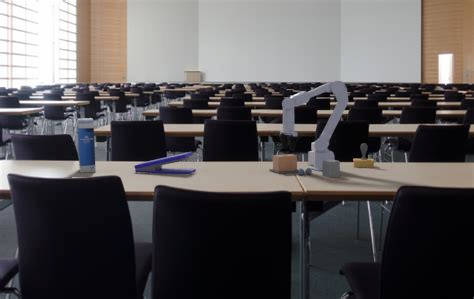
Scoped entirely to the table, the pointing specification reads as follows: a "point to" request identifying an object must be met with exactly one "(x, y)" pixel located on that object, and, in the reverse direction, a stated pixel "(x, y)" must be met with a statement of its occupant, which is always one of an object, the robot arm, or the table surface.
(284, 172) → the charcoal mat
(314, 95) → the robot arm
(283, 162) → the salmon rectangular prism
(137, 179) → the table surface
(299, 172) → the marble
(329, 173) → the grey rectangular block
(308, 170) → the marble
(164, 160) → the stapler
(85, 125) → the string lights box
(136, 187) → the table surface
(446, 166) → the table surface
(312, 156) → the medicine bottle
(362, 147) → the rubber stamp
